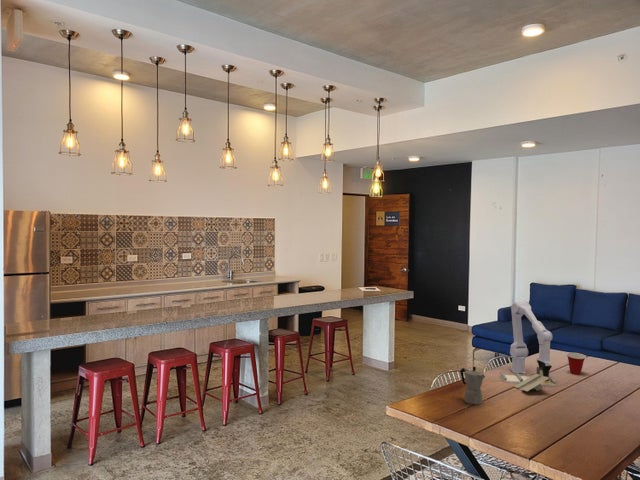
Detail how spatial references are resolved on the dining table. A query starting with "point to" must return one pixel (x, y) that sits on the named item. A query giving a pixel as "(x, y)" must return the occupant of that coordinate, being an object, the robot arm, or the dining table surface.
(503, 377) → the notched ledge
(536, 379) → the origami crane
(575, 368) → the plastic cup
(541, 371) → the picture frame
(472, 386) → the coffeepot
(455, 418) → the dining table surface
